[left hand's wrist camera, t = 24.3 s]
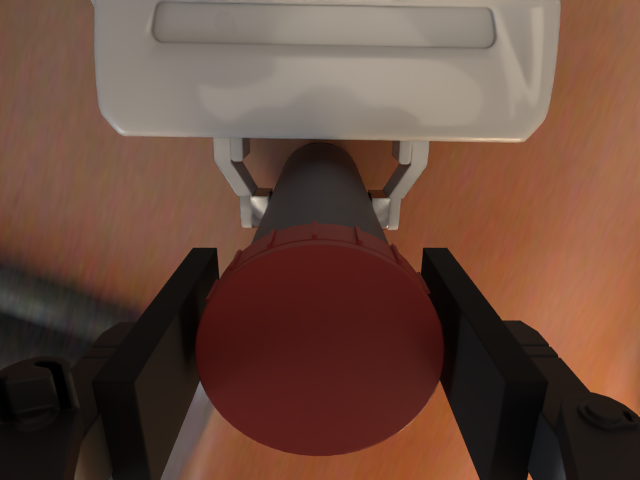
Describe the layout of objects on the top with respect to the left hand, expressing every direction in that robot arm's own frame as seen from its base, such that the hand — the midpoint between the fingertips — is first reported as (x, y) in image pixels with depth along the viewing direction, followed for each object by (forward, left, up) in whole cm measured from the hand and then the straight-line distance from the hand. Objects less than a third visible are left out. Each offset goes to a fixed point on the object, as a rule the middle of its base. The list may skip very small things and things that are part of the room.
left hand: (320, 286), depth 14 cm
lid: (0, 0, +4) cm, 4 cm away
